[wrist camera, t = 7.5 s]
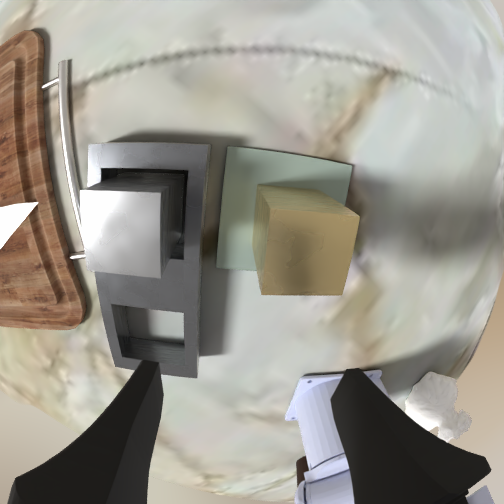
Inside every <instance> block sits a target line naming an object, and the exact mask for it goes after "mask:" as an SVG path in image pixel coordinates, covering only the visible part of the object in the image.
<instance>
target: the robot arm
mask: <svg viewBox="0 0 504 504" xmlns="http://www.w3.org/2000/svg"><path fill="white" fill-rule="evenodd" d="M381 375H382V371H381V370H372V371H364V372H363V371H362V370H361V369H359V368H355V369H346V371H345V373H344V374H332V375H317V376H303V377H301V378H300V380H299V382H298V385H297V388H296V390H295V393H294V395H293V398H292V400H291V403H290V405H289V408H288V410H287V412H286V415H285V420H287V421H291V420H298V423H299V427H300V432H301V436H302V440H303V445H304V449H305V454H306V458H307V463H308V467H309V471H307V472H305V473H304V476H305V481H302V482H301V483H300V484H299V486H298V488H297V490H296V492H295V504H494V502H493V499H492V497H491V495H490V492H489V490H488V488H487V486H484V487H482V488H480V489H479V490H477V491H476V492H474V493H473V494H472V495H470V496H468V497H467V498H466V497H465V496H466V495H467V494H468V493H469V492H468V489H469V488H471V487H472V486H473V485H475V484H476V483H477V482H479V481H480V480H481V479H483V478H484V477H485V476H486V475H488V474H489V473H490V472H491V468H490V466H489V464H488V462H487V460H486V458H485V457H484V456H480V455H477V454H474V453H471V452H468V451H465V450H462V449H460V448H458V447H455V446H453V445H451V444H449V443H447V442H446V441H444V440H442V439H440V438H438V437H437V436H435V435H433V434H432V433H430V432H429V431H427V430H426V429H425V428H423V427H422V426H420V425H419V424H418V423H416V422H415V421H414V420H413V419H411V418H410V417H409V416H408V415H407V414H406V413H404V412H403V411H402V410H401V409H400V408H399V407H398V406H397V405H396V404H395V403H394V402H392V401H391V399H390V397H389V395H388V393H387V391H386V389H385V387H384V385H383V383H382V381H381V379H380V377H381ZM163 396H164V393H163V387H162V380H161V372H160V364H159V362H154V361H148V360H142V361H141V362H140V364H139V365H138V367H137V368H136V370H135V371H134V373H133V374H132V376H131V377H130V379H129V380H128V381H127V383H126V384H125V386H124V387H123V388H122V390H121V391H120V392H119V393H118V395H117V396H116V397H115V399H114V400H113V401H112V402H111V404H110V405H109V406H108V407H107V408H106V409H105V411H104V412H103V413H102V414H101V415H100V416H99V417H98V418H97V420H96V421H95V422H94V423H93V424H92V425H91V426H90V427H89V428H88V429H87V430H86V431H85V432H84V433H82V434H81V435H80V436H79V437H78V438H77V439H76V440H75V441H74V442H72V443H71V444H70V445H69V446H67V447H66V448H65V449H64V450H62V451H61V452H60V453H58V454H57V455H55V456H54V457H52V458H51V459H49V460H48V461H46V462H45V463H43V464H42V465H40V466H38V467H36V468H34V469H32V470H30V471H29V472H26V473H25V474H23V475H21V476H18V477H16V478H15V481H14V483H13V485H12V488H11V492H10V496H9V500H8V504H147V489H148V477H149V468H150V462H151V458H152V453H153V449H154V445H155V440H156V436H157V432H158V427H159V423H160V419H161V412H162V404H163Z"/></svg>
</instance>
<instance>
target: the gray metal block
mask: <svg viewBox="0 0 504 504" xmlns="http://www.w3.org/2000/svg"><path fill="white" fill-rule="evenodd" d="M183 187H184V174H165V173H133V172H125V173H122V174H120V175H117V176H114V177H112V178H109V179H107V180H104V181H102V182H99V183H97V184H94V185H92V186H90V187H87V188H85V189H83V190H80V204H81V220H82V232H83V242H84V250H85V258H86V265H87V270H90V271H98V272H106V273H115V274H123V275H132V276H142V277H151V278H161V277H162V275H163V273H164V270H165V268H166V266H167V264H168V262H169V259H170V257H171V255H172V253H173V251H174V249H175V247H176V245H177V243H178V240H179V238H180V236H181V228H182V204H183Z"/></svg>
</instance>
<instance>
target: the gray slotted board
mask: <svg viewBox="0 0 504 504" xmlns="http://www.w3.org/2000/svg"><path fill="white" fill-rule="evenodd" d="M210 153H211V145H209V144H194V143H174V142H106V143H96V144H89V151H88V187H90V186H92V185H94V184H97V183H99V182H102V181H104V180H107V179H109V178H112V177H114V176H117V168H150V169H174V170H188V183H187V198H186V215H185V239H184V244H182V243H177V245H176V247H175V249H174V251H173V253H172V255H171V257H170V259H169V262H168V264H167V266H166V268H165V270H164V273H163V275H162V277H161V278H151V277H142V276H132V275H123V274H115V273H106V272H98V271H95V277H96V284H97V290H98V296H99V301H100V306H101V311H102V316H103V321H104V325H105V329H106V334H107V338H108V342H109V346H110V349H111V353H112V357H113V360H114V364H115V367H120V368H125V369H131V370H136V368H137V367H138V365H139V364H140V362H141V361H142V360H148V361H154V362H159V364H160V372H161V374H163V375H171V376H179V377H189V378H197V376H198V365H199V338H200V296H201V271H202V252H203V235H204V220H205V207H206V195H207V183H208V173H209V162H210ZM125 306H131V307H138V308H146V309H154V310H163V311H172V312H181V313H184V343H185V344H178V343H169V342H161V341H153V340H146V339H139V338H132V337H130V334H129V329H128V323H127V317H126V310H125Z"/></svg>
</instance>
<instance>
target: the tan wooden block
mask: <svg viewBox="0 0 504 504" xmlns="http://www.w3.org/2000/svg"><path fill="white" fill-rule="evenodd" d="M359 220H360V216H359V215H357V214H356V213H354V212H353V211H351V210H350V209H348V208H347V207H345V206H344V205H342V204H341V203H339V202H338V201H336V200H334V199H333V198H331V197H330V196H328V195H327V194H325V193H323V192H322V191H320V190H315V189H305V188H295V187H284V186H272V185H258V184H257V189H256V201H255V213H254V225H253V237H252V249H253V254H254V259H255V264H256V269H257V275H258V280H259V285H260V290H261V295H342V294H343V290H344V286H345V282H346V278H347V274H348V270H349V266H350V262H351V258H352V253H353V249H354V244H355V240H356V235H357V230H358V225H359Z"/></svg>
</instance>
